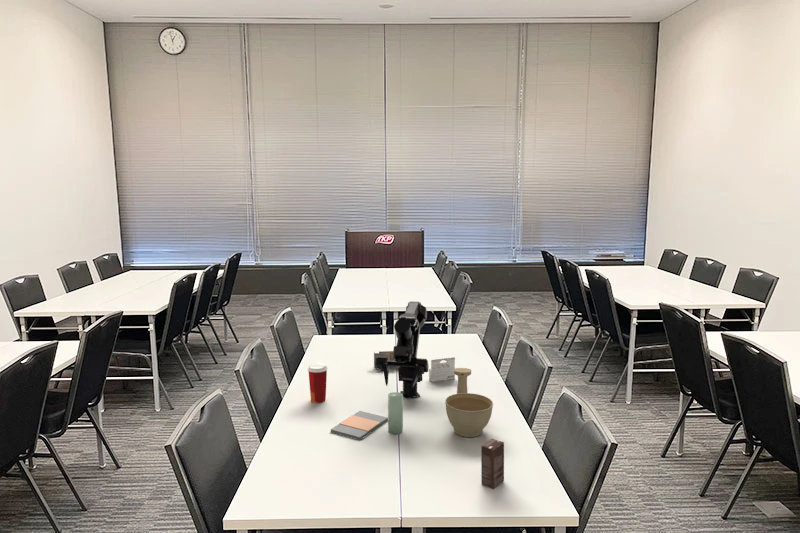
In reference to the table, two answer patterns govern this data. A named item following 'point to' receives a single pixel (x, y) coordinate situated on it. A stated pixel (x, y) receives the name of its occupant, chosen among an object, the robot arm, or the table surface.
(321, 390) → the paper cup
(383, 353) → the architectural model on board
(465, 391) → the handle
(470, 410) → the planter bowl
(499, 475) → the box
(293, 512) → the table surface
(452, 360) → the ink cartridge box
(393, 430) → the green cylinder
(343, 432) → the grey orange flat block
